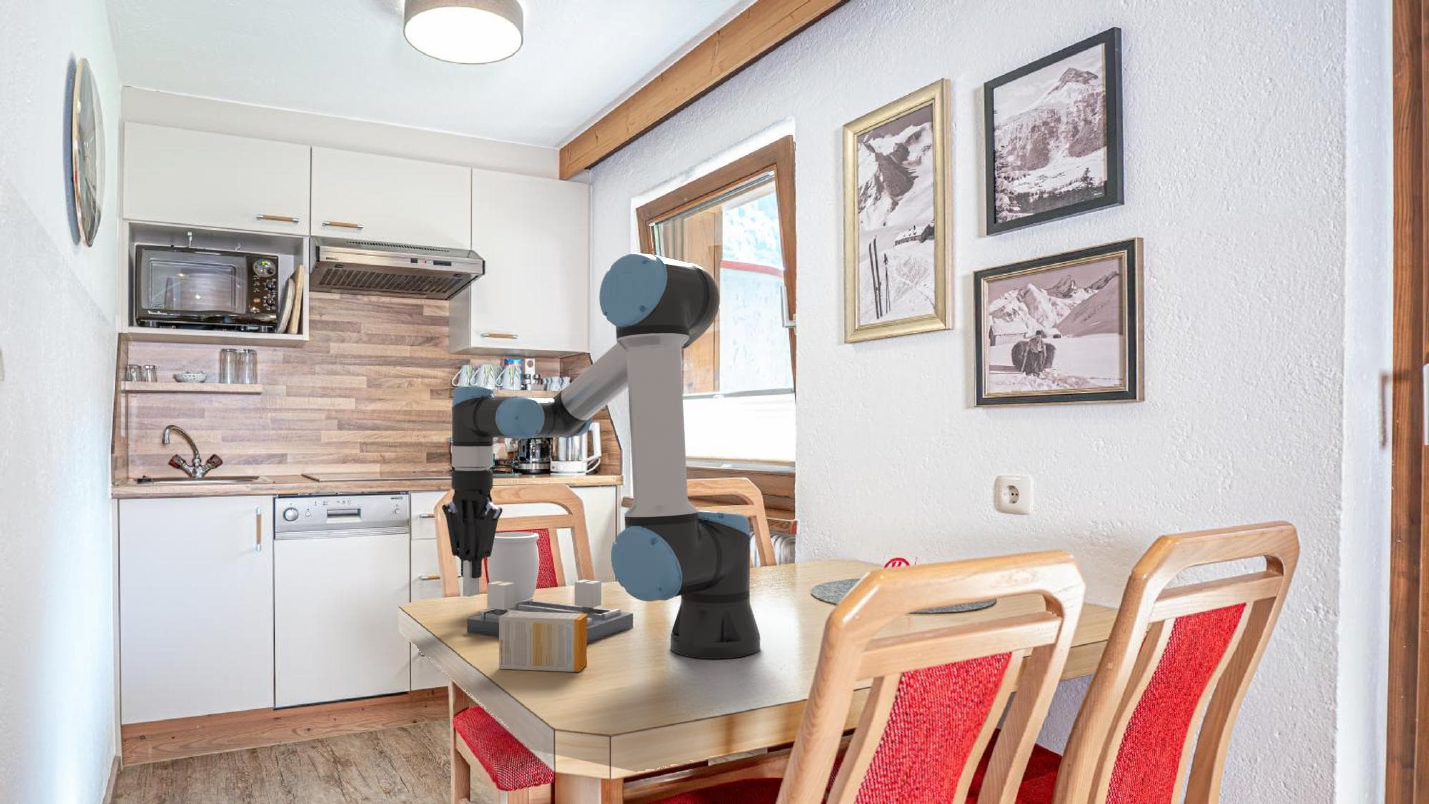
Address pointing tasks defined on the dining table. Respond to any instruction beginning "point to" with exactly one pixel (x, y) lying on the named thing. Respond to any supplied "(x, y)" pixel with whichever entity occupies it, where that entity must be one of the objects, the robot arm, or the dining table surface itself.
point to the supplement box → (543, 641)
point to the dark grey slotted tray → (597, 621)
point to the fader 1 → (500, 596)
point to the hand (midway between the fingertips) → (470, 594)
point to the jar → (515, 562)
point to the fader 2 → (587, 594)
